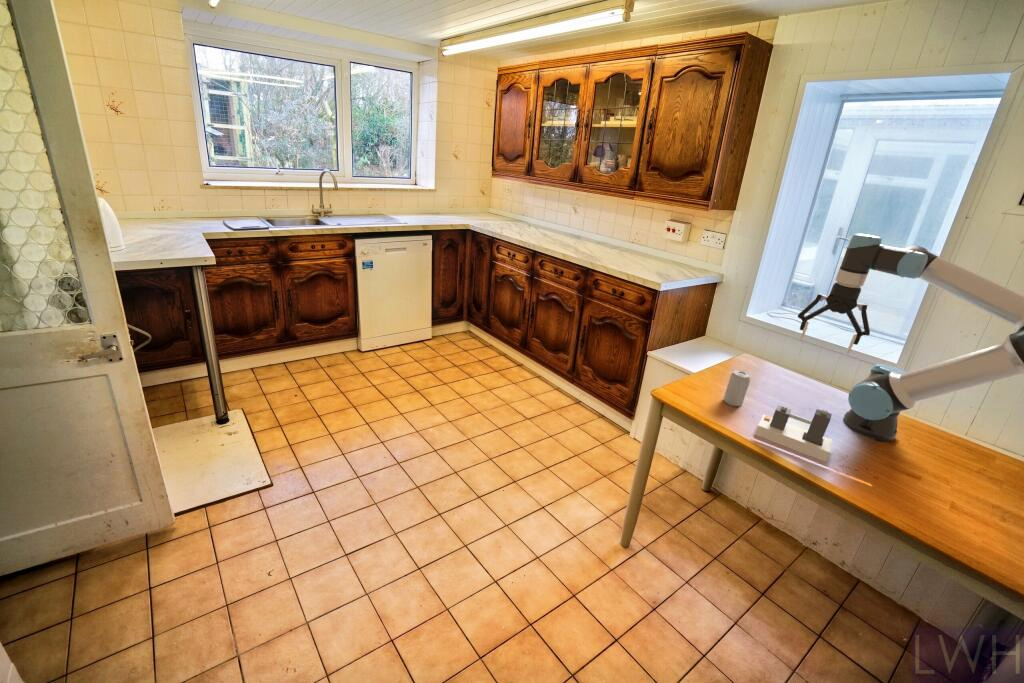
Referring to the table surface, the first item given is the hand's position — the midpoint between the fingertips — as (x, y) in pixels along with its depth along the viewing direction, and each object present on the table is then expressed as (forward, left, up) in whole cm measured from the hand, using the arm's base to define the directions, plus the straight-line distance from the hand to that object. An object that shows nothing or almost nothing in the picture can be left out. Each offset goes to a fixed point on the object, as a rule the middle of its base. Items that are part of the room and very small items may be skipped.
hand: (824, 346), depth 158 cm
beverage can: (+22, -4, -27) cm, 35 cm away
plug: (+8, +22, -26) cm, 35 cm away
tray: (+3, +9, -27) cm, 28 cm away
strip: (+12, +19, -27) cm, 35 cm away
